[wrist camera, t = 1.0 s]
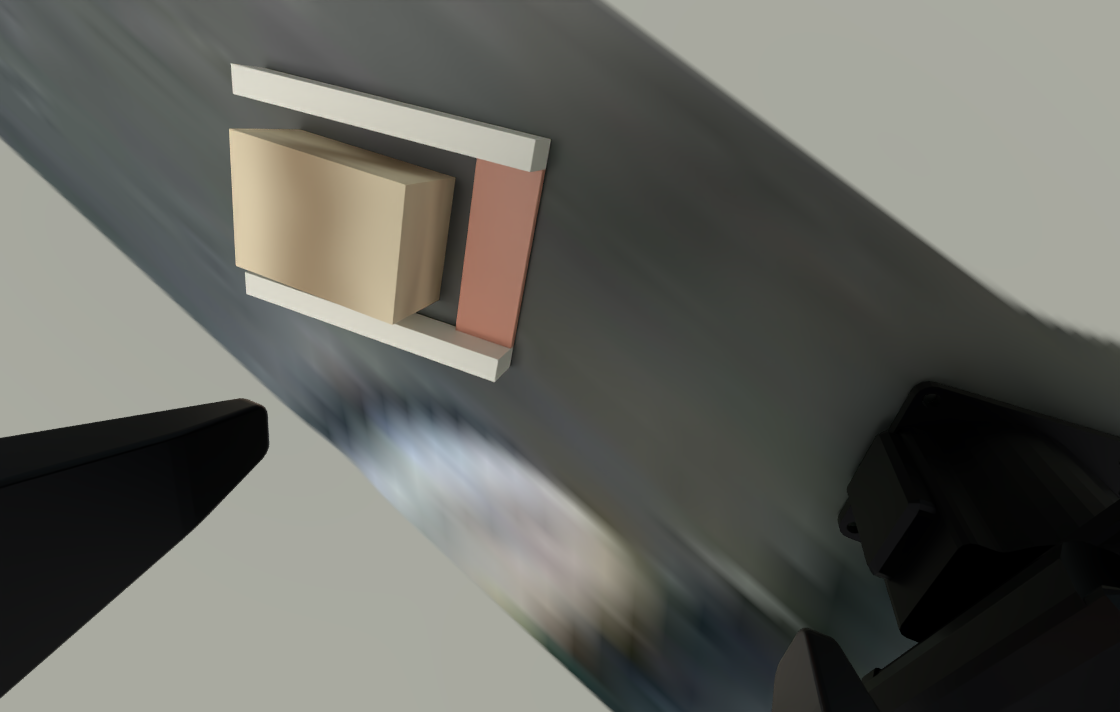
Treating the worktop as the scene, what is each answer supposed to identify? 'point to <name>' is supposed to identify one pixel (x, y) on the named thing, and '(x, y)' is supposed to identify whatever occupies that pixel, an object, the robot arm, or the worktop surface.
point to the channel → (493, 233)
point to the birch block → (339, 221)
